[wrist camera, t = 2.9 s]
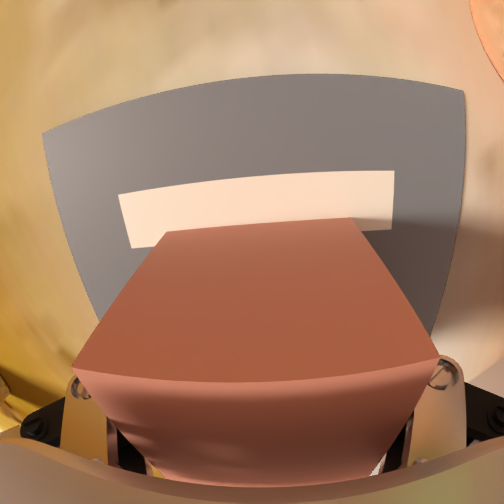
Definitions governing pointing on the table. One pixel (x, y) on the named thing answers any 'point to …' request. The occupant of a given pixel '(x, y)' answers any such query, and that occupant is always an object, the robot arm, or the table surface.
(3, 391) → the vase
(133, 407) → the block
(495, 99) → the table surface
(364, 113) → the board
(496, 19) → the beer glass
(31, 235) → the table surface
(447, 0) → the table surface
